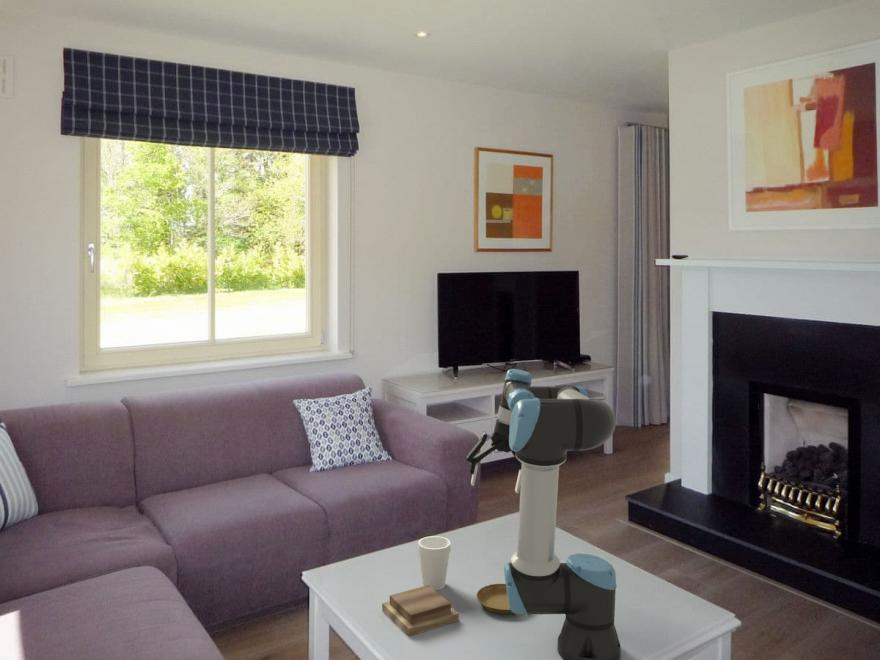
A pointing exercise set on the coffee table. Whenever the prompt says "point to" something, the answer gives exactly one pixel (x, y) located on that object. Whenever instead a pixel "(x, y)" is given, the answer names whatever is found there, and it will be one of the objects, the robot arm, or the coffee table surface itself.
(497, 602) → the plant saucer
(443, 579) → the foam cup
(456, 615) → the plinth
